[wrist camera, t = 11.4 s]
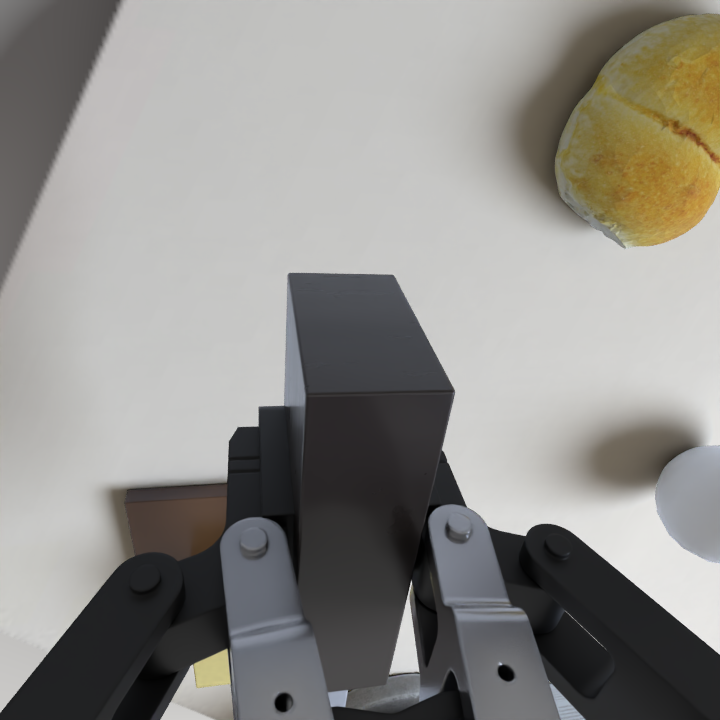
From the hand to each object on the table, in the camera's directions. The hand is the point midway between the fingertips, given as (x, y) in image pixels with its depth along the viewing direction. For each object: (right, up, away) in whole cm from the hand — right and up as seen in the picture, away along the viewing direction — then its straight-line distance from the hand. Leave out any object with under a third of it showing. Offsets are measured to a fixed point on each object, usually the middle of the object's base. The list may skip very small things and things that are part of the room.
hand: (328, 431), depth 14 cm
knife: (0, -4, +3) cm, 5 cm away
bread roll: (+13, +12, +10) cm, 20 cm away
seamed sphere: (+24, -5, +23) cm, 34 cm away
